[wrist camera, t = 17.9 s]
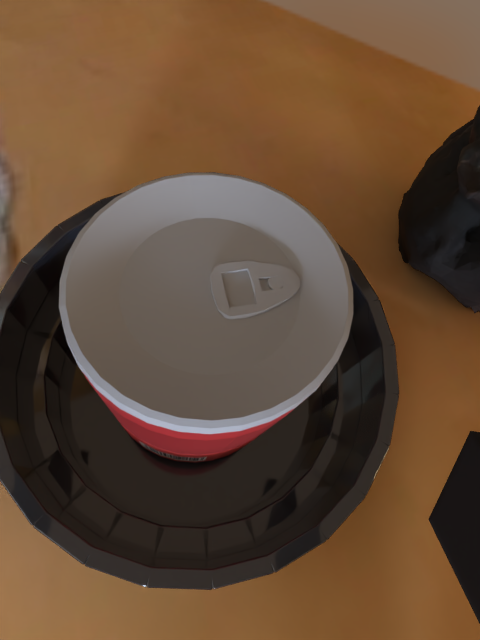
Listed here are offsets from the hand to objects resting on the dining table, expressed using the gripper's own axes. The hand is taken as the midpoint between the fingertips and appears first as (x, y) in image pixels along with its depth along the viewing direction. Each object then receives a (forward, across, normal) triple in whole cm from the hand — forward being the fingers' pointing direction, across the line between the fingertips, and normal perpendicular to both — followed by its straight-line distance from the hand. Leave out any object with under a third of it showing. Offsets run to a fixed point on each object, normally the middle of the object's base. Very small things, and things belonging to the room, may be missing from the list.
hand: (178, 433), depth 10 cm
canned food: (+11, 0, -5) cm, 12 cm away
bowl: (+11, 0, -6) cm, 12 cm away
